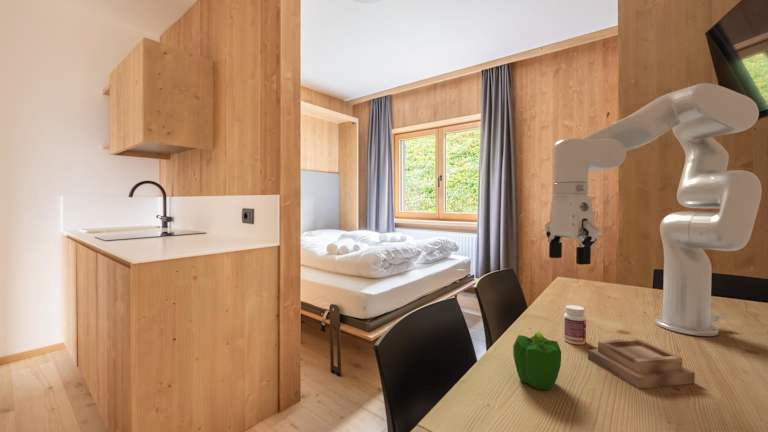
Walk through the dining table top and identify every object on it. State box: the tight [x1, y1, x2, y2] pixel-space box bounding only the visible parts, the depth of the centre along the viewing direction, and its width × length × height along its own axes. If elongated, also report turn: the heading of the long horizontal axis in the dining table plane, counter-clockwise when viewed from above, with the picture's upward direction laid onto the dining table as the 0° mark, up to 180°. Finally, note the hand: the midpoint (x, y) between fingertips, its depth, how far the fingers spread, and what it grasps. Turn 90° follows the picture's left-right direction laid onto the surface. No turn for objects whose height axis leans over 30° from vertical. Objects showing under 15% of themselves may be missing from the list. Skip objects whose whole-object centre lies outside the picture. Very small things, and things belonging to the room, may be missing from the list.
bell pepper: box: [512, 331, 562, 391], centre depth 62 cm, size 8×8×10 cm
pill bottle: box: [563, 304, 587, 346], centre depth 81 cm, size 5×5×8 cm
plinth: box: [587, 337, 696, 390], centre depth 67 cm, size 12×12×4 cm
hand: (568, 260), depth 81 cm, fingers open, 9 cm apart
